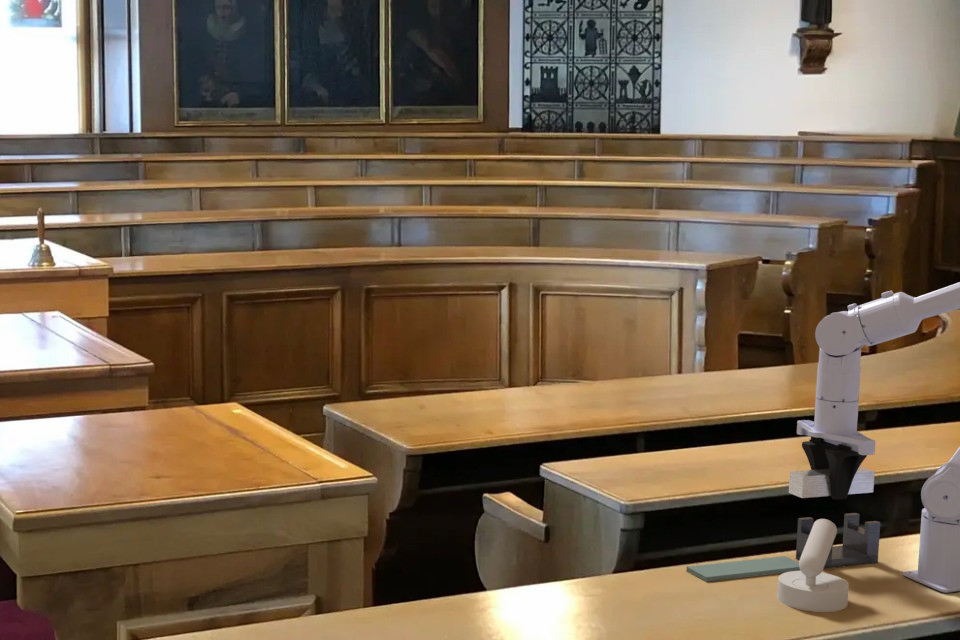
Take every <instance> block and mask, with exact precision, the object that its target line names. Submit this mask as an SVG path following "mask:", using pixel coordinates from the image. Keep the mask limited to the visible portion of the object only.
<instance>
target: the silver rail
mask: <svg viewBox="0 0 960 640" xmlns="http://www.w3.org/2000/svg"><path fill="white" fill-rule="evenodd" d="M788 479H789V482H788V493H789V494H791V495H793V496H796V497H798V498H801V499H808V498H820V497H822V498H823V497H831V476H830V469H817V470H811V469H808V470H807V469H806V470H805V469H804V470H792V471H789V478H788ZM874 487H875V470H873V469H872V470H871V469H869V468H866V467H863V466H861V465H860V466H859V468H858V470H857V472H856V474H855V476H854V478H853V481H852V484H851V487H850V490H849V493H848V495H856V494H869V493H874Z"/></svg>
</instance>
